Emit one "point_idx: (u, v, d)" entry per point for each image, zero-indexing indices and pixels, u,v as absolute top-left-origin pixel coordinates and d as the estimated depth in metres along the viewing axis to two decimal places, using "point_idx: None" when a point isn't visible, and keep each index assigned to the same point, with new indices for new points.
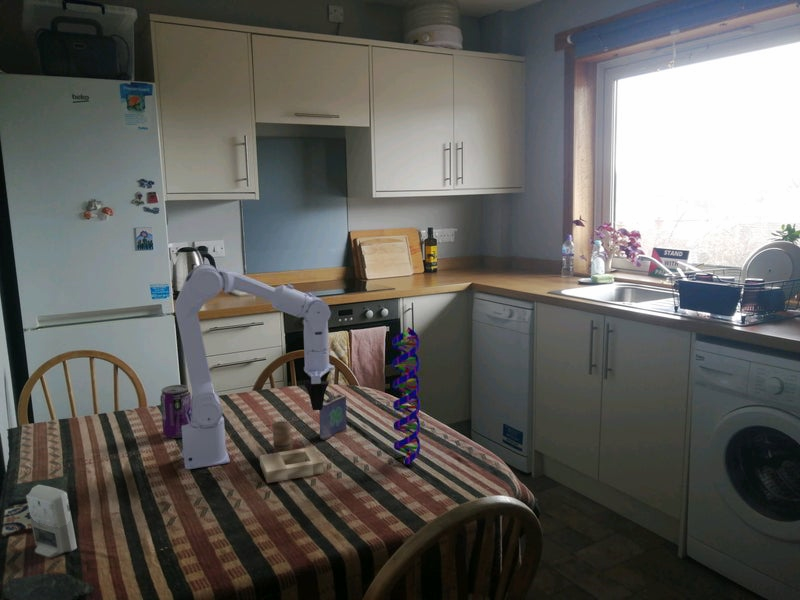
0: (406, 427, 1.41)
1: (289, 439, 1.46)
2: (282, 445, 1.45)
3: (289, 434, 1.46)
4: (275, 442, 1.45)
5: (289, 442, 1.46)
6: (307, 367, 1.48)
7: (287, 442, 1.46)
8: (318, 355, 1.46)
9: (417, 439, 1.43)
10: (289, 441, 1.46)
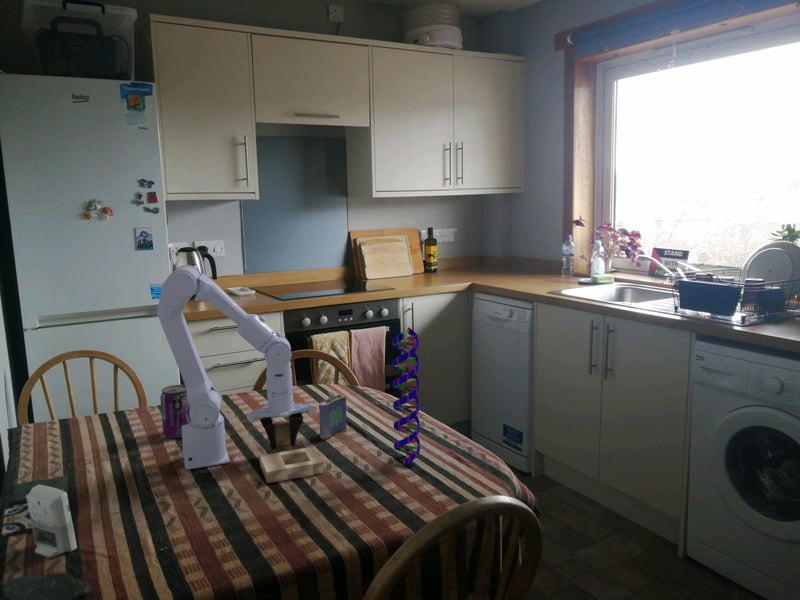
0: (406, 427, 1.41)
1: (289, 439, 1.46)
2: (282, 445, 1.45)
3: (289, 434, 1.46)
4: (275, 442, 1.45)
5: (289, 442, 1.46)
6: None
7: (287, 442, 1.46)
8: (268, 396, 1.43)
9: (417, 439, 1.43)
10: (289, 441, 1.46)
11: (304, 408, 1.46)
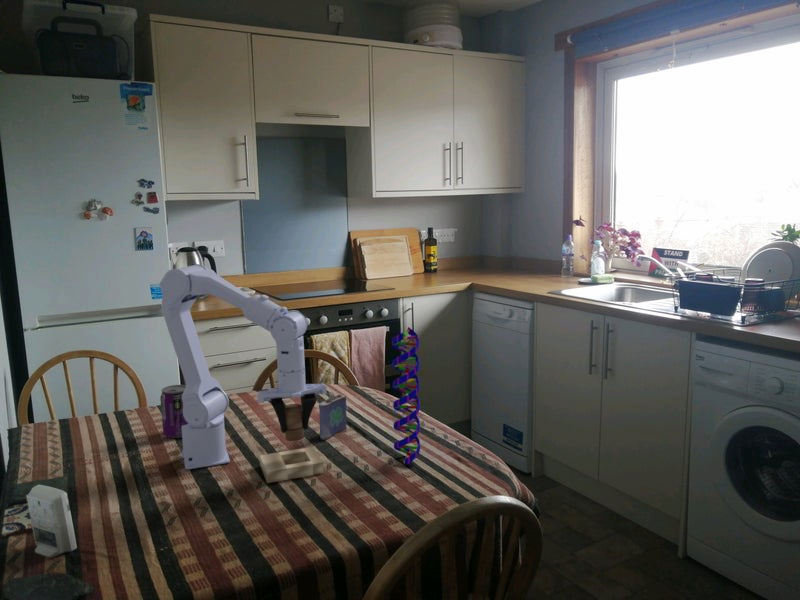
0: (406, 427, 1.41)
1: (301, 422, 1.37)
2: (294, 428, 1.36)
3: (301, 416, 1.37)
4: (286, 425, 1.36)
5: (301, 425, 1.37)
6: None
7: (299, 425, 1.36)
8: (279, 375, 1.34)
9: (417, 439, 1.43)
10: (301, 424, 1.37)
11: (317, 388, 1.37)
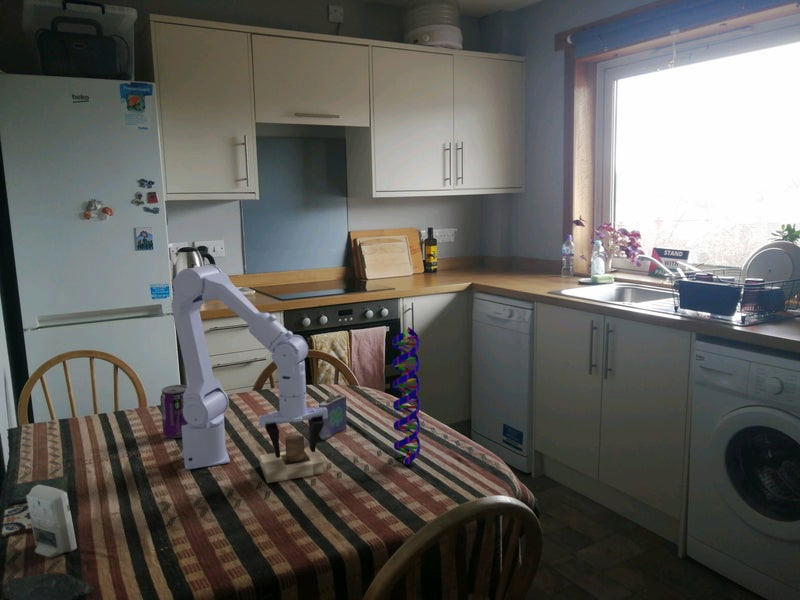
0: (406, 427, 1.41)
1: (303, 454, 1.38)
2: (295, 460, 1.37)
3: (303, 448, 1.38)
4: (288, 457, 1.37)
5: (303, 457, 1.38)
6: None
7: (301, 457, 1.37)
8: (280, 399, 1.35)
9: (417, 439, 1.43)
10: (303, 456, 1.38)
11: (318, 412, 1.37)
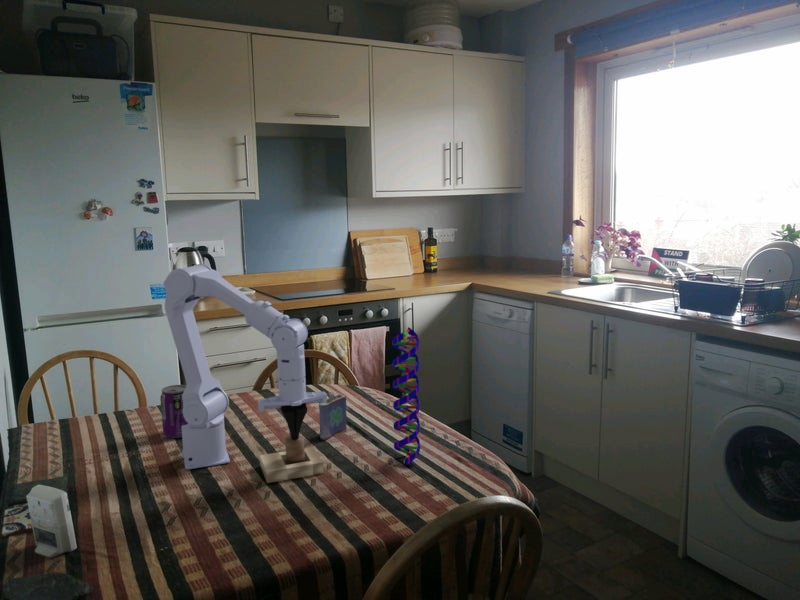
0: (406, 427, 1.41)
1: (303, 454, 1.38)
2: (295, 460, 1.37)
3: (303, 448, 1.38)
4: (288, 457, 1.37)
5: (303, 457, 1.38)
6: None
7: (301, 457, 1.37)
8: (279, 383, 1.34)
9: (417, 439, 1.43)
10: (303, 456, 1.38)
11: (318, 397, 1.37)
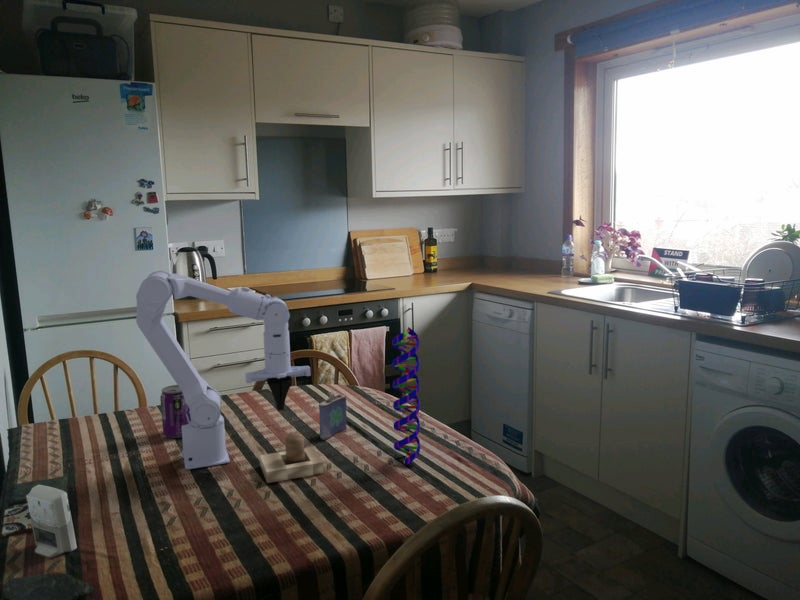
0: (406, 427, 1.41)
1: (303, 454, 1.38)
2: (295, 460, 1.37)
3: (303, 448, 1.38)
4: (288, 457, 1.37)
5: (303, 457, 1.38)
6: None
7: (301, 457, 1.37)
8: (265, 357, 1.43)
9: (417, 439, 1.43)
10: (303, 456, 1.38)
11: (301, 370, 1.46)
